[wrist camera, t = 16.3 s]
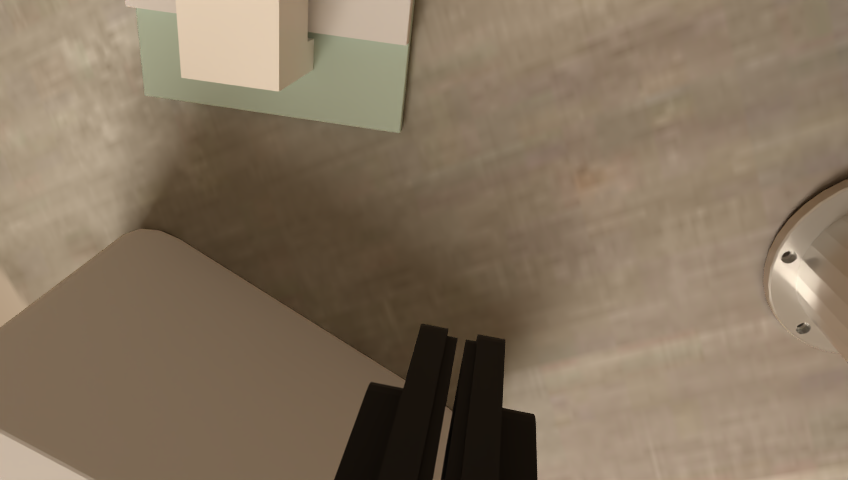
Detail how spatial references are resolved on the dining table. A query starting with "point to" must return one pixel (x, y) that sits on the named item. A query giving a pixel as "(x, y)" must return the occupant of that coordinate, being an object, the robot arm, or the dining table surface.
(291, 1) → the block
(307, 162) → the dining table surface
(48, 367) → the grey rounded block
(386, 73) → the rail board
